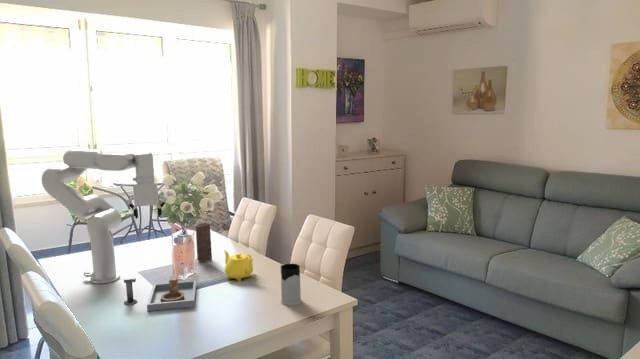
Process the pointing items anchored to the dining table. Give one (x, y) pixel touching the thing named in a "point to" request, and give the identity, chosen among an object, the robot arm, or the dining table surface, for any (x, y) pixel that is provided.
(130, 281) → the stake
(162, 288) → the tray
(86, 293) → the dining table surface
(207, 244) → the candle
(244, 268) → the teapot
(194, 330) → the dining table surface
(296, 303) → the glass holder
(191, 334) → the dining table surface
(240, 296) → the dining table surface
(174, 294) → the ring
